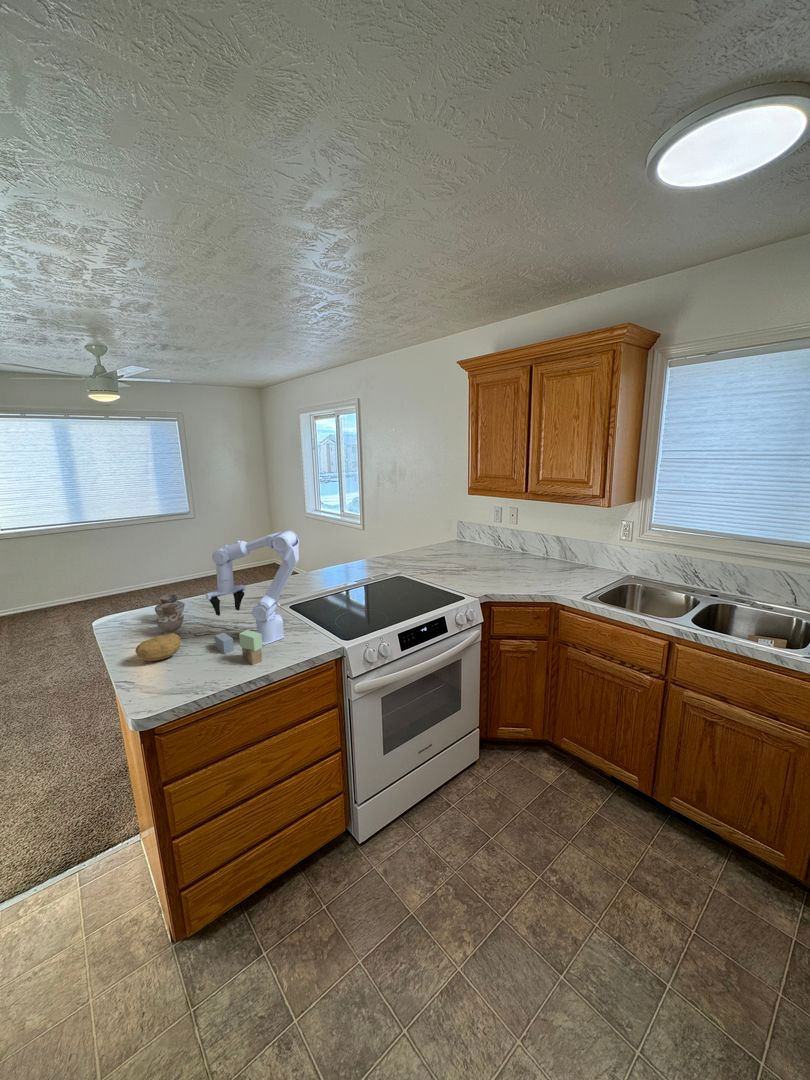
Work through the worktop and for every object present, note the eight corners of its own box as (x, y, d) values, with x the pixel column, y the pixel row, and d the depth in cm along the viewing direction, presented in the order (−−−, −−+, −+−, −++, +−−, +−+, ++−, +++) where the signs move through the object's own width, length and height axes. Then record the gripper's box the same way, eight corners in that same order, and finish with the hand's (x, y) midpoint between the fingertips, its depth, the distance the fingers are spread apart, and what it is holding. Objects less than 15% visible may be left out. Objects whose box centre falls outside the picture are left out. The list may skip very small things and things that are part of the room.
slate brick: (216, 647, 162) (214, 635, 161) (225, 644, 164) (224, 632, 163) (224, 654, 157) (223, 641, 156) (233, 650, 160) (232, 638, 159)
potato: (134, 660, 152) (131, 638, 151) (178, 648, 161) (175, 627, 160) (140, 670, 145) (137, 648, 143) (185, 657, 154) (183, 636, 152)
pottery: (155, 640, 167) (152, 611, 165) (156, 618, 189) (153, 591, 186) (188, 634, 173) (185, 606, 170) (185, 613, 194) (182, 587, 191)
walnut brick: (242, 658, 154) (241, 645, 153) (252, 655, 156) (251, 642, 155) (252, 665, 149) (251, 652, 148) (262, 661, 152) (261, 648, 151)
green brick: (240, 646, 152) (239, 633, 151) (248, 642, 155) (247, 629, 154) (254, 651, 149) (253, 637, 148) (262, 647, 152) (261, 634, 151)
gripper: (238, 572, 173) (240, 604, 176) (201, 580, 163) (204, 614, 166) (247, 576, 168) (249, 609, 171) (209, 584, 158) (212, 619, 161)
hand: (227, 612), depth 168 cm, fingers open, 7 cm apart
